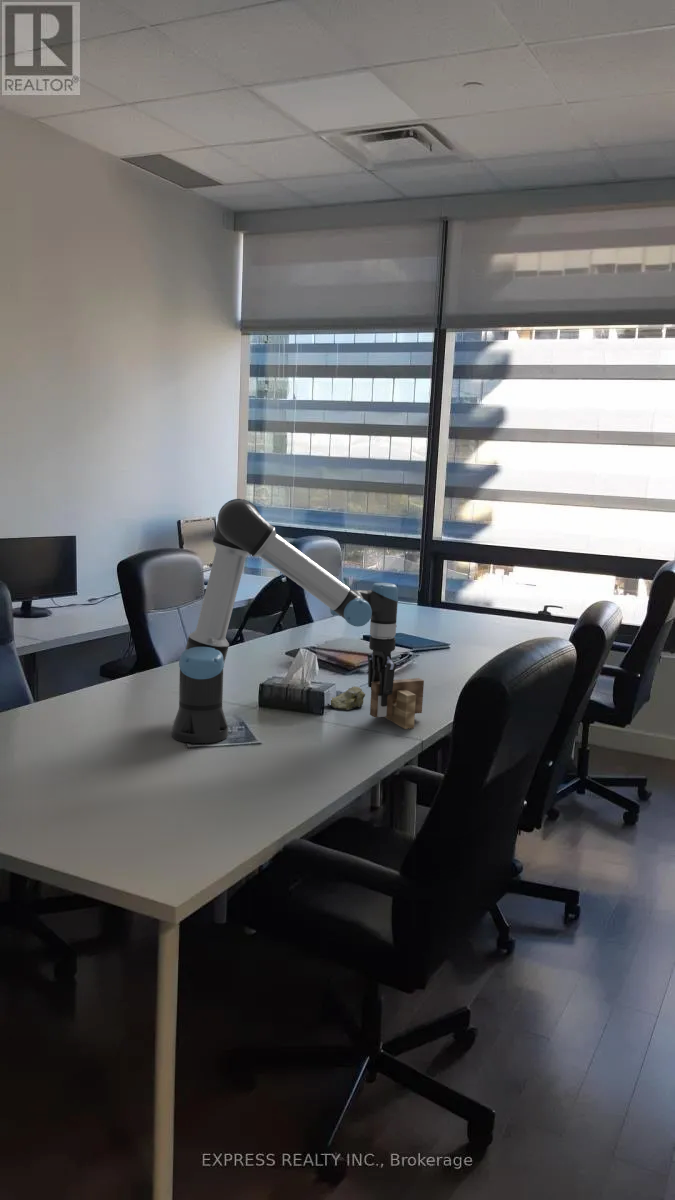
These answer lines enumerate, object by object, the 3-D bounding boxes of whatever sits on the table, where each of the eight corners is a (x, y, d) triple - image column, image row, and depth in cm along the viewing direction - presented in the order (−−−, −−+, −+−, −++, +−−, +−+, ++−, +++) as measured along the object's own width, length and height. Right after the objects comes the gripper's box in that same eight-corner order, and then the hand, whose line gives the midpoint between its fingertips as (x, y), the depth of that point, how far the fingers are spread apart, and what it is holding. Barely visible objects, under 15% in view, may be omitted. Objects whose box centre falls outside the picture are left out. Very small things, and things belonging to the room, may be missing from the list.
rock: (323, 710, 280) (349, 712, 274) (321, 690, 280) (347, 691, 274) (343, 704, 289) (369, 706, 283) (342, 685, 288) (367, 685, 282)
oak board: (404, 729, 261) (406, 695, 259) (378, 713, 275) (380, 681, 273) (413, 728, 262) (415, 694, 260) (387, 713, 276) (389, 681, 274)
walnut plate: (374, 717, 263) (376, 684, 262) (369, 714, 266) (371, 681, 264) (421, 712, 270) (423, 680, 268) (416, 710, 273) (418, 678, 271)
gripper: (407, 641, 256) (403, 721, 260) (380, 630, 270) (377, 706, 274) (384, 642, 253) (380, 723, 257) (358, 631, 267) (354, 708, 271)
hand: (378, 714), depth 265 cm, fingers closed on walnut plate, 3 cm apart
